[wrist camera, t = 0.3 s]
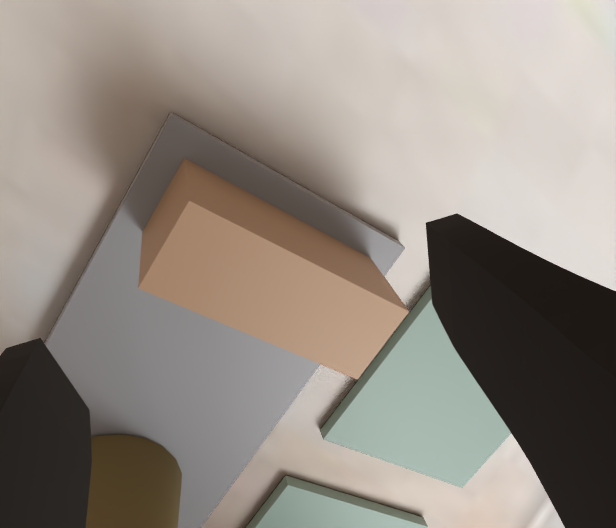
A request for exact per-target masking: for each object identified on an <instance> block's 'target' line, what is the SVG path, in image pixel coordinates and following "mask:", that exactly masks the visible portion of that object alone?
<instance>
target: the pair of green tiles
mask: <svg viewBox="0 0 616 528" xmlns="http://www.w3.org/2000/svg"><path fill="white" fill-rule="evenodd" d="M320 432H321V435H322V437H323V440H326V441H329V442H332V443H335V444H338V445H341V446H343V447H346V448H349V449H352V450H355V451H358V452H361V453H364V454H366V455H369V456H372V457H375V458H378V459H381V460H384V461H386V462H389V463H392V464H395V465H398V466H401V467H404V468H406V469H409V470H412V471H415V472H418V473H421V474H424V475H426V476H429V477H432V478H435V479H438V480H441V481H444V482H447V483H449V484H452V485H455V486H458V487H461V488H463V487H464V485H465V484H466V483H467V482H468V481H469V480H470V479H471V478H472V476H473V475H474V474H475V473H476V472H477V471H478V470H479V469H480V468H481V466H482V465H483V464H484V463H485V462H486V461H487V460H488V459H489V457H490V456H491V455H492V454H493V453H494V452H495V451H496V450H497V448H498V447H499V446H500V445H501V444H502V443H503V442H504V441H505V439H506V438H507V437H508V436H509V435H510V434H511V432H510V430H509V429H508V427H507V426H506V424H505V423H504V421H503V420H502V418H501V417H500V415H499V414H498V413H497V411H496V410H495V408H494V407H493V405H492V404H491V402H490V401H489V399H488V398H487V396H486V395H485V393H484V392H483V390H482V389H481V387H480V386H479V385H478V383H477V382H476V380H475V379H474V377H473V376H472V374H471V373H470V371H469V370H468V368H467V367H466V365H465V364H464V362H463V361H462V359H461V358H460V356H459V355H458V353H457V352H456V350H455V348H454V347H453V345H452V343H451V341H450V339H449V337H448V335H447V333H446V331H445V329H444V327H443V325H442V323H441V321H440V319H439V317H438V315H437V313H436V311H435V309H434V307H433V305H432V296H431V285H430V286H429V288H428V289H427V290H426V292H425V293H424V294H423V296H422V297H421V298H420V300H419V301H418V302H417V304H416V305H415V306H414V307H413V309H412V310H411V311H410V313H409V314H408V315H407V317H406V318H405V319H404V321H403V322H402V323H401V325H400V326H399V327H398V328H397V330H396V331H395V332H394V334H393V335H392V336H391V338H390V339H389V340H388V342H387V343H386V344H385V346H384V347H383V348H382V349H381V351H380V352H379V353H378V355H377V356H376V357H375V359H374V360H373V361H372V363H371V364H370V365H369V367H368V368H367V369H366V370H365V372H364V373H363V374H362V376H361V377H360V378H359V380H358V381H357V382H356V384H355V385H354V386H353V387H352V389H351V390H350V391H349V393H348V394H347V395H346V397H345V398H344V399H343V401H342V402H341V403H340V405H339V406H338V407H337V408H336V410H335V411H334V412H333V414H332V415H331V416H330V418H329V419H328V420H327V422H326V423H325V424H324V426H323V427H322V428H321V429H320ZM427 527H428V526H427V524H426V522H425V520H424V518H423V517H420V516H417V515H414V514H411V513H407V512H404V511H401V510H397V509H394V508H391V507H388V506H384V505H381V504H378V503H375V502H371V501H368V500H365V499H362V498H358V497H355V496H352V495H349V494H345V493H342V492H339V491H335V490H332V489H329V488H326V487H322V486H319V485H316V484H313V483H309V482H306V481H303V480H300V479H296V478H293V477H290V476H287V475H285V477H284V478H283V479H282V481H281V482H280V483H279V485H278V486H277V487H276V489H275V490H274V491H273V492H272V494H271V495H270V496H269V498H268V499H267V500H266V502H265V503H264V504H263V506H262V507H261V508H260V510H259V511H258V512H257V513H256V515H255V516H254V517H253V519H252V520H251V521H250V523H249V524H248V525H247V527H246V528H427Z"/></svg>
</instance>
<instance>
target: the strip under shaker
mask: <svg viewBox="0 0 616 528" xmlns="http://www.w3.org/2000/svg"><path fill="white" fill-rule="evenodd" d="M404 249H405V247H404V246H403V245H402V244H401V243H400V242H399V241H398V240H396V239H394V238H392V237H390V236H389V235H387V234H385V233H383V232H382V231H380V230H378V229H376V228H375V227H373V226H371V225H369V224H368V223H366V222H364V221H362V220H361V219H359V218H357V217H355V216H354V215H352V214H350V213H348V212H346V211H345V210H343V209H341V208H339V207H338V206H336V205H334V204H332V203H331V202H329V201H327V200H325V199H324V198H322V197H320V196H318V195H317V194H315V193H313V192H311V191H309V190H308V189H306V188H304V187H302V186H301V185H299V184H297V183H295V182H294V181H292V180H290V179H288V178H287V177H285V176H283V175H281V174H280V173H278V172H276V171H274V170H273V169H271V168H269V167H267V166H265V165H264V164H262V163H260V162H258V161H257V160H255V159H253V158H251V157H250V156H248V155H246V154H244V153H243V152H241V151H239V150H237V149H236V148H234V147H232V146H230V145H228V144H227V143H225V142H223V141H221V140H220V139H218V138H216V137H214V136H213V135H211V134H209V133H207V132H206V131H204V130H202V129H200V128H199V127H197V126H195V125H193V124H192V123H190V122H188V121H186V120H184V119H183V118H181V117H179V116H177V115H176V114H174V113H172V112H170V114H169V116H168V118H167V120H166V121H165V123H164V125H163V127H162V129H161V131H160V132H159V134H158V136H157V138H156V140H155V141H154V143H153V145H152V147H151V149H150V151H149V152H148V154H147V156H146V158H145V160H144V162H143V163H142V165H141V167H140V169H139V171H138V173H137V174H136V176H135V178H134V180H133V182H132V184H131V185H130V187H129V189H128V191H127V193H126V195H125V196H124V198H123V200H122V202H121V204H120V206H119V207H118V209H117V211H116V213H115V215H114V217H113V218H112V220H111V222H110V224H109V226H108V228H107V229H106V231H105V233H104V235H103V237H102V238H101V240H100V242H99V244H98V246H97V248H96V249H95V251H94V253H93V255H92V257H91V259H90V260H89V262H88V264H87V266H86V268H85V270H84V271H83V273H82V275H81V277H80V279H79V281H78V282H77V284H76V286H75V288H74V290H73V292H72V293H71V295H70V297H69V299H68V301H67V303H66V304H65V306H64V308H63V310H62V312H61V314H60V315H59V317H58V319H57V321H56V323H55V325H54V326H53V328H52V330H51V332H50V334H49V336H48V337H47V339H46V341H45V343H44V344H45V345H46V347H47V348H48V350H49V351H50V353H51V354H52V356H53V357H54V359H55V360H56V361H57V363H58V364H59V366H60V367H61V369H62V370H63V372H64V373H65V375H66V376H67V378H68V379H69V380H70V382H71V383H72V385H73V386H74V388H75V389H76V391H77V392H78V394H79V395H80V397H81V398H82V399H83V401H84V402H85V404H86V405H87V407H88V408H89V410H90V426H91V437H95V436H103V435H117V434H123V435H129V436H135V437H141V438H145V439H148V440H150V441H152V442H154V443H156V444H159V445H161V446H163V447H164V448H165V449H166V450H167V451H168V452H169V453H170V454H171V455H172V456H173V457H174V458H176V460H177V463H178V465H179V467H180V470H181V472H182V483H181V497H180V508H179V519H178V528H201V527H202V525H203V524H204V523H205V521H206V520H207V519H208V517H209V516H210V515H211V513H212V512H213V510H214V509H215V508H216V506H217V505H218V504H219V502H220V501H221V499H222V498H223V497H224V495H225V494H226V493H227V491H228V490H229V489H230V487H231V486H232V484H233V483H234V482H235V480H236V479H237V478H238V476H239V475H240V473H241V472H242V471H243V469H244V468H245V467H246V465H247V464H248V462H249V461H250V460H251V458H252V457H253V456H254V454H255V453H256V452H257V450H258V449H259V447H260V446H261V445H262V443H263V442H264V441H265V439H266V438H267V436H268V435H269V434H270V432H271V431H272V430H273V428H274V427H275V425H276V424H277V423H278V421H279V420H280V419H281V417H282V416H283V415H284V413H285V412H286V410H287V409H288V408H289V406H290V405H291V404H292V402H293V401H294V399H295V398H296V397H297V395H298V394H299V393H300V391H301V390H302V389H303V387H304V386H305V384H306V383H307V382H308V380H309V379H310V378H311V376H312V375H313V373H314V372H315V371H316V369H317V368H318V367H319V365H320V364H321V365H323V366H326V367H328V368H331V369H333V370H335V371H338V372H340V373H343V374H345V375H347V376H350V377H352V378H355V379H357V380H358V378H359V377H360V376H361V374H362V373H363V372H364V371H365V369H366V368H367V367H368V365H369V364H370V363H371V361H372V360H373V359H374V357H375V356H376V355H377V353H378V352H379V351H380V350H381V348H382V347H383V346H384V344H385V343H386V342H387V340H388V339H389V338H390V336H391V335H392V334H393V332H394V331H395V330H396V329H397V327H398V326H399V325H400V323H401V322H402V321H403V319H404V318H405V317H406V315H407V314H408V313H409V311H408V309H407V308H406V306H405V305H404V304H403V302H402V301H401V299H400V298H399V297H398V295H397V294H396V292H395V291H394V290H393V288H392V287H391V286H390V284H389V283H388V281H387V280H386V279H385V277H384V276H385V275H386V273H387V272H388V271H389V269H390V268H391V267H392V265H393V264H394V263H395V261H396V260H397V258H398V257H399V256H400V254H401V253H402V252H403V250H404Z"/></svg>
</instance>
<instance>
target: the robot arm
mask: <svg viewBox="0 0 616 528" xmlns="http://www.w3.org/2000/svg"><path fill="white" fill-rule="evenodd" d="M426 231H427V244H428V257H429V270H430V283H431V296H432V305H433V307H434V309H435V311H436V313H437V315H438V317H439V319H440V321H441V323H442V325H443V327H444V329H445V331H446V333H447V335H448V337H449V339H450V341H451V343H452V345H453V347H454V348H455V350H456V352H457V353H458V355H459V356H460V358H461V359H462V361H463V362H464V364H465V365H466V367H467V368H468V370H469V371H470V373H471V374H472V376H473V377H474V379H475V380H476V382H477V383H478V385H479V386H480V387H481V389H482V390H483V392H484V393H485V395H486V396H487V398H488V399H489V401H490V402H491V404H492V405H493V407H494V408H495V410H496V411H497V413H498V414H499V415H500V417H501V418H502V420H503V421H504V423H505V424H506V426H507V427H508V429H509V430H510V432H511V433H512V435H513V436H514V438H515V439H516V441H517V442H518V444H519V445H520V447H521V449H522V450H523V452H524V453H525V455H526V457H527V458H528V460H529V461H530V463H531V465H532V467H533V469H534V470H535V472H536V474H537V476H538V478H539V480H540V481H541V483H542V485H543V487H544V489H545V491H546V493H547V494H548V496H549V498H550V500H551V502H552V504H553V506H554V507H555V509H556V511H557V513H558V515H559V517H560V519H561V521H562V523H563V525H564V526H565V528H616V291H613V290H611V289H609V288H606V287H604V286H602V285H599V284H597V283H595V282H592V281H590V280H588V279H585V278H583V277H581V276H579V275H576V274H574V273H572V272H570V271H568V270H566V269H563V268H561V267H559V266H557V265H555V264H553V263H551V262H549V261H547V260H545V259H543V258H541V257H539V256H537V255H535V254H533V253H531V252H529V251H527V250H525V249H523V248H521V247H519V246H517V245H515V244H513V243H512V242H510V241H508V240H506V239H504V238H502V237H500V236H498V235H497V234H495V233H493V232H491V231H489V230H487V229H485V228H484V227H482V226H480V225H478V224H476V223H474V222H472V221H471V220H469V219H467V218H465V217H463V216H461V215H459V214H454V215H451V216H447V217H444V218H441V219H437V220H434V221H431V222H427V223H426ZM91 465H92V450H91V426H90V410H89V408H88V407H87V405H86V404H85V402H84V401H83V399H82V398H81V397H80V395H79V394H78V392H77V391H76V389H75V388H74V386H73V385H72V383H71V382H70V380H69V379H68V378H67V376H66V375H65V373H64V372H63V370H62V369H61V367H60V366H59V364H58V363H57V361H56V360H55V359H54V357H53V356H52V354H51V353H50V351H49V350H48V348H47V347H46V345H45V344H44V342H43V341H42V340H41V338H39V339H36V340H32V341H29V342H26V343H22V344H19V345H15V346H12V347H9V348H6V349H5V351H4V352H3V353H2V354H1V355H0V528H86V518H87V508H88V498H89V488H90V477H91Z"/></svg>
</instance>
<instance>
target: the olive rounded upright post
mask: <svg viewBox="0 0 616 528" xmlns="http://www.w3.org/2000/svg"><path fill="white" fill-rule="evenodd" d="M91 450H92V465H91V477H90V488H89V498H88V508H87V518H86V528H178V519H179V508H180V497H181V483H182V472H181V470H180V467H179V465H178V463H177V460H176V458H174V457H173V456H172V455H171V454H170V453H169V452H168V451H167V450H166V449H165V448H164V447H163V446H161V445H159V444H156V443H154V442H152V441H150V440H148V439H145V438H141V437H135V436H129V435H123V434H117V435H103V436H95V437H91Z"/></svg>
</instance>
